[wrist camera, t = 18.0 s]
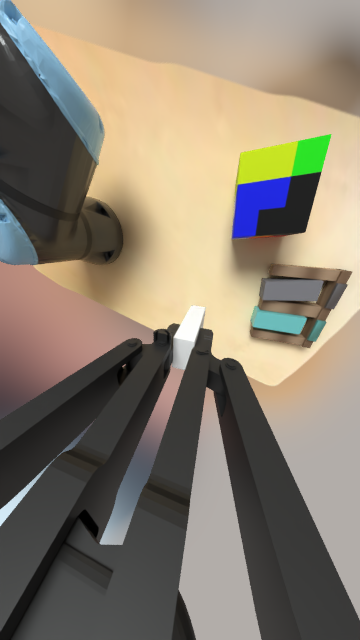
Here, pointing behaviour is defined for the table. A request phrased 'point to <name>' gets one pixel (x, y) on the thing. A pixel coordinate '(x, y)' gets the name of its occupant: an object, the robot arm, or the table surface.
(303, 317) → the teal block
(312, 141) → the puzzle toy
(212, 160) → the table surface
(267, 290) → the grey block
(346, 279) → the comb rack
